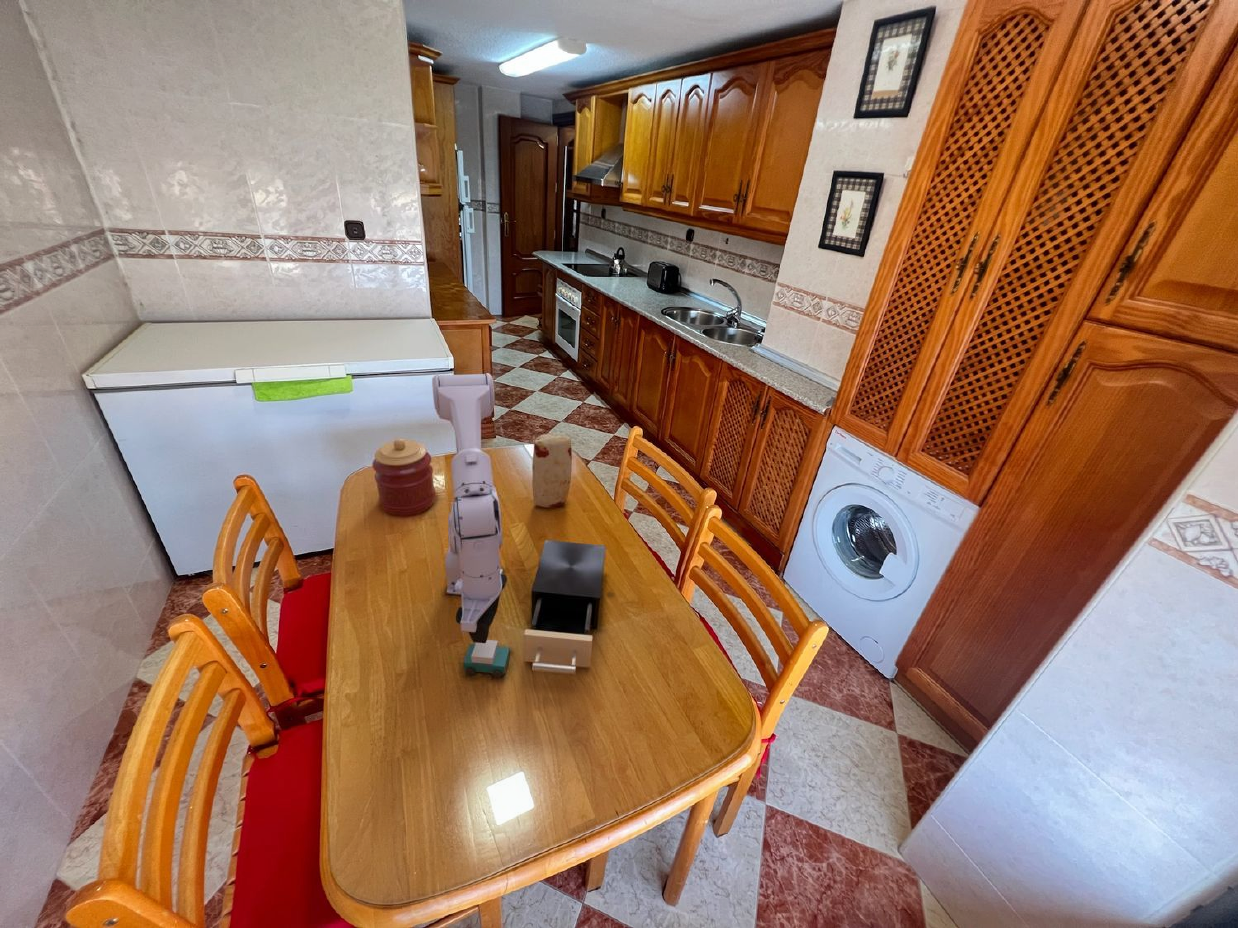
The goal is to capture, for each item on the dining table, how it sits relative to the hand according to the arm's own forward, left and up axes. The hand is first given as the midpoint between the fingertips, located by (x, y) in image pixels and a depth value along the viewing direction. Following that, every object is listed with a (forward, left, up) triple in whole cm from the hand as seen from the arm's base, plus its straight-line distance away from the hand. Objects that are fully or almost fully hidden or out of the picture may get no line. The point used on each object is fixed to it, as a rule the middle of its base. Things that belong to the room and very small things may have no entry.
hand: (484, 626), depth 81 cm
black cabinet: (+12, +17, -9) cm, 23 cm away
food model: (+3, +49, -10) cm, 50 cm away
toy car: (0, 0, -9) cm, 9 cm away
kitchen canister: (-32, +44, -10) cm, 55 cm away
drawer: (+12, +5, -8) cm, 16 cm away
